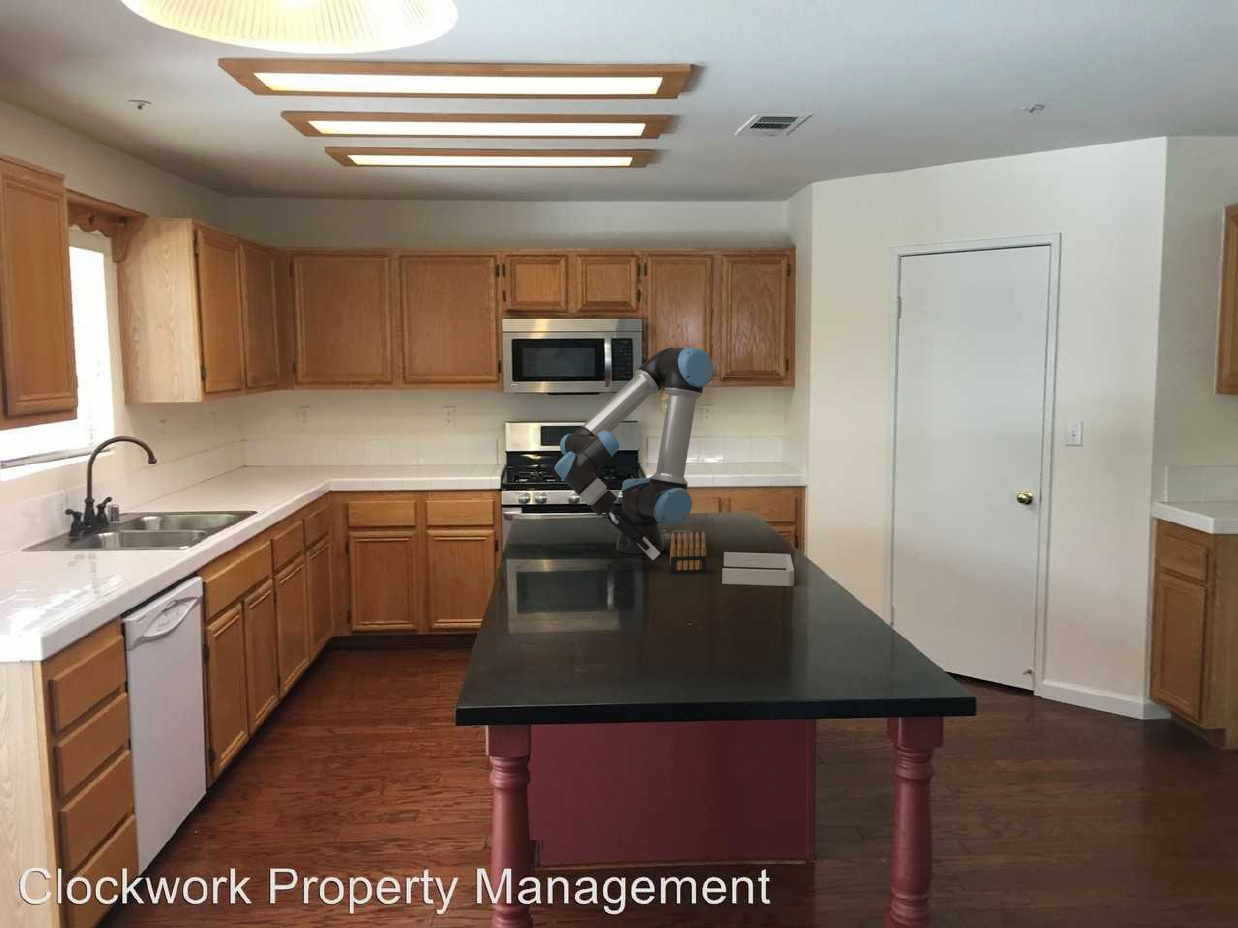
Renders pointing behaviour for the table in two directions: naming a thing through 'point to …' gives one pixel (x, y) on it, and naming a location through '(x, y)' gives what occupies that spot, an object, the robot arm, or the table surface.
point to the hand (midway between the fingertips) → (656, 556)
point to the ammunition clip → (688, 555)
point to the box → (756, 574)
